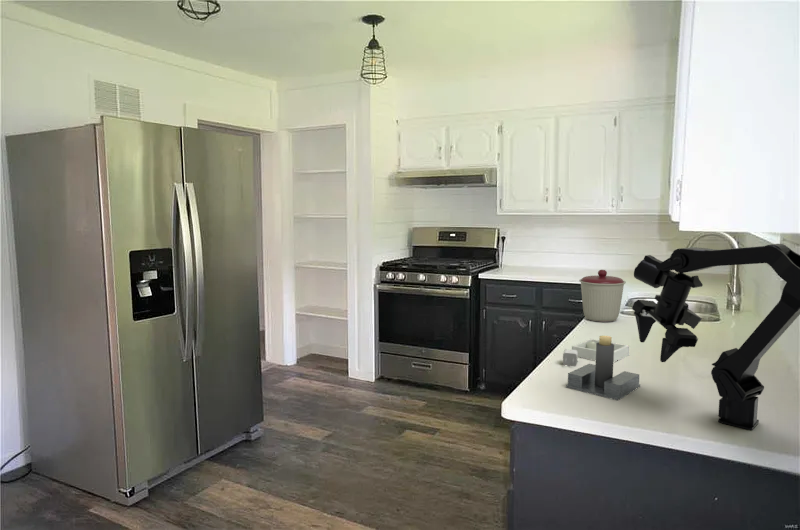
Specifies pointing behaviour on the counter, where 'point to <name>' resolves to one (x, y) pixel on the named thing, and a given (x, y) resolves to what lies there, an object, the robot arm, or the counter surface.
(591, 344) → the pipe fitting
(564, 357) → the usb wall charger
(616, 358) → the parts tray
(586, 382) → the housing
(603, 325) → the counter surface
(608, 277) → the canister
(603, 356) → the grey and tan cylinder
